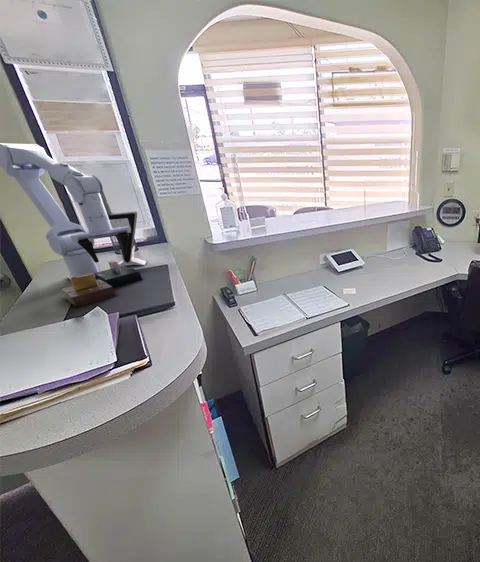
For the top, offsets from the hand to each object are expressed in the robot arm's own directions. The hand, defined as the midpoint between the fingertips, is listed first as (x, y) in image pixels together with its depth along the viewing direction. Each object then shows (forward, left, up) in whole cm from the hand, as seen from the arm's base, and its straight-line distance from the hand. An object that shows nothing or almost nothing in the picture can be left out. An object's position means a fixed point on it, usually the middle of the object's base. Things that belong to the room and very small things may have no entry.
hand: (111, 258), depth 101 cm
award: (-17, +8, -8) cm, 21 cm away
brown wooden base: (+9, -10, -8) cm, 15 cm away
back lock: (0, 0, -5) cm, 5 cm away
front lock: (+9, -10, -5) cm, 14 cm away
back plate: (0, 0, -8) cm, 8 cm away
